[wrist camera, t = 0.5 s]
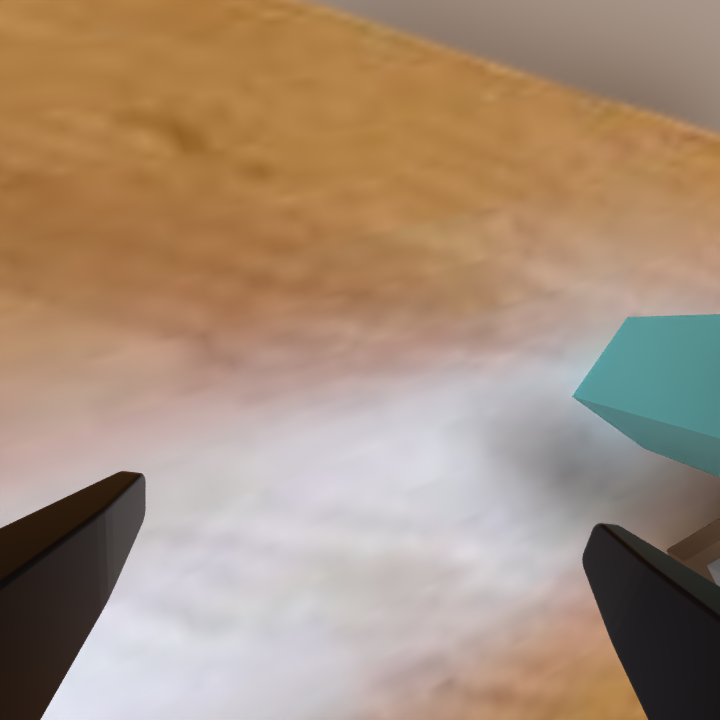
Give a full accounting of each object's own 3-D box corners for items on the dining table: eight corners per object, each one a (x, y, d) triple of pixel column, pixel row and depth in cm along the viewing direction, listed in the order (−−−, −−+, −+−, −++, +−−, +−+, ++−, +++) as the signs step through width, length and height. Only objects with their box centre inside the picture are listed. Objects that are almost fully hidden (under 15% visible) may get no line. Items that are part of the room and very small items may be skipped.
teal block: (644, 448, 24) (873, 535, 14) (572, 396, 23) (754, 448, 13) (699, 371, 24) (968, 402, 14) (627, 317, 23) (853, 310, 13)
